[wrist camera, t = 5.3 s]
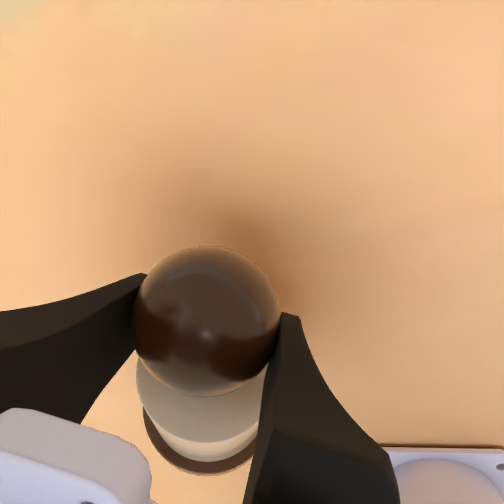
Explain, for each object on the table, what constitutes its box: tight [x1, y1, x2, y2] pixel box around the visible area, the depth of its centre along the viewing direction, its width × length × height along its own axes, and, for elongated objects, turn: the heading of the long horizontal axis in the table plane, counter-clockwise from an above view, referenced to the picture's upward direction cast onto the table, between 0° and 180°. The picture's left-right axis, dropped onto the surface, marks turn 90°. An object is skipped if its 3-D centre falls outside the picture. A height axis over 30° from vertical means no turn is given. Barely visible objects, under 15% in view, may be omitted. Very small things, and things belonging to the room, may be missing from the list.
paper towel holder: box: [131, 246, 281, 476], centre depth 16 cm, size 7×7×13 cm
